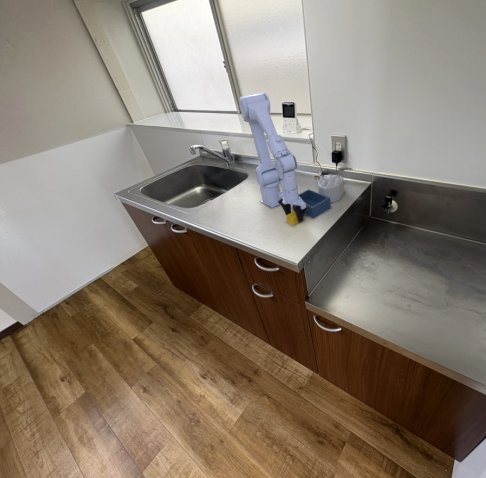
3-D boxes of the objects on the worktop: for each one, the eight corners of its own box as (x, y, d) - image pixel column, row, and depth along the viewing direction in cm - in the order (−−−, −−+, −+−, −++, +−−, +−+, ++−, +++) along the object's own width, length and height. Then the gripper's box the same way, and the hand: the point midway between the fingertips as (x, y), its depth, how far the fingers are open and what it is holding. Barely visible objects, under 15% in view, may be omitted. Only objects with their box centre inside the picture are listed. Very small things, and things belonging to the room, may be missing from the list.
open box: (292, 208, 109) (291, 198, 106) (309, 198, 114) (308, 189, 111) (313, 218, 101) (312, 208, 98) (330, 208, 106) (330, 197, 103)
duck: (287, 222, 101) (285, 210, 98) (298, 215, 104) (296, 204, 101) (293, 225, 99) (291, 214, 95) (304, 219, 101) (302, 207, 98)
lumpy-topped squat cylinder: (346, 190, 116) (345, 173, 111) (335, 204, 107) (335, 186, 102) (325, 188, 121) (324, 171, 115) (314, 201, 112) (312, 183, 107)
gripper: (269, 186, 95) (276, 216, 103) (293, 197, 85) (298, 229, 94) (284, 179, 98) (289, 209, 106) (308, 189, 89) (312, 221, 97)
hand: (294, 218), depth 100 cm, fingers open, 7 cm apart
